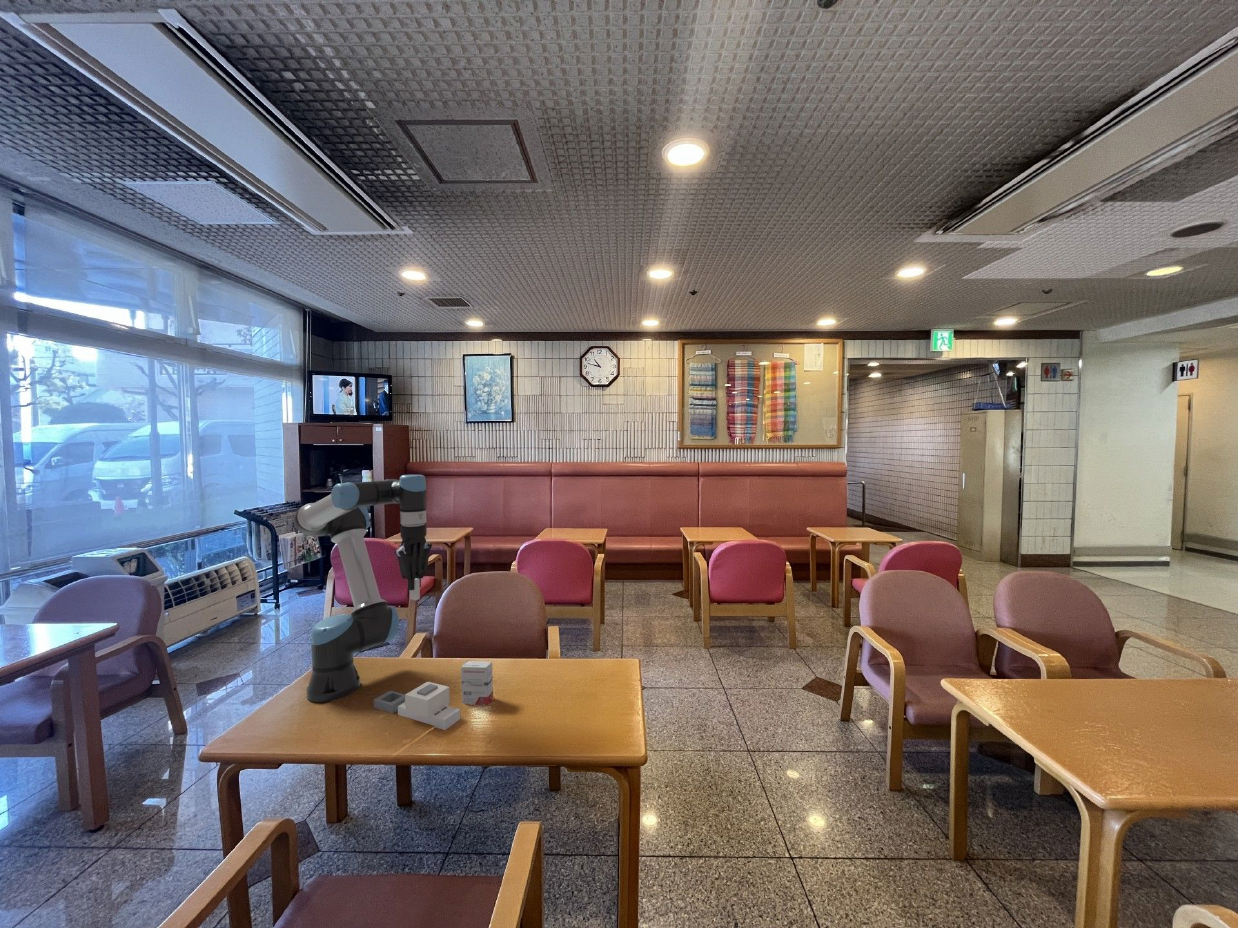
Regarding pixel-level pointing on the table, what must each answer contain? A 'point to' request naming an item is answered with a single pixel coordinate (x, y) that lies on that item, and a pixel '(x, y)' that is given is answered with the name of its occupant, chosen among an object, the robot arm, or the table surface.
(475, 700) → the ink box
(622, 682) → the table surface
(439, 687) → the plug
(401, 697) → the plug rest
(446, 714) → the socket
